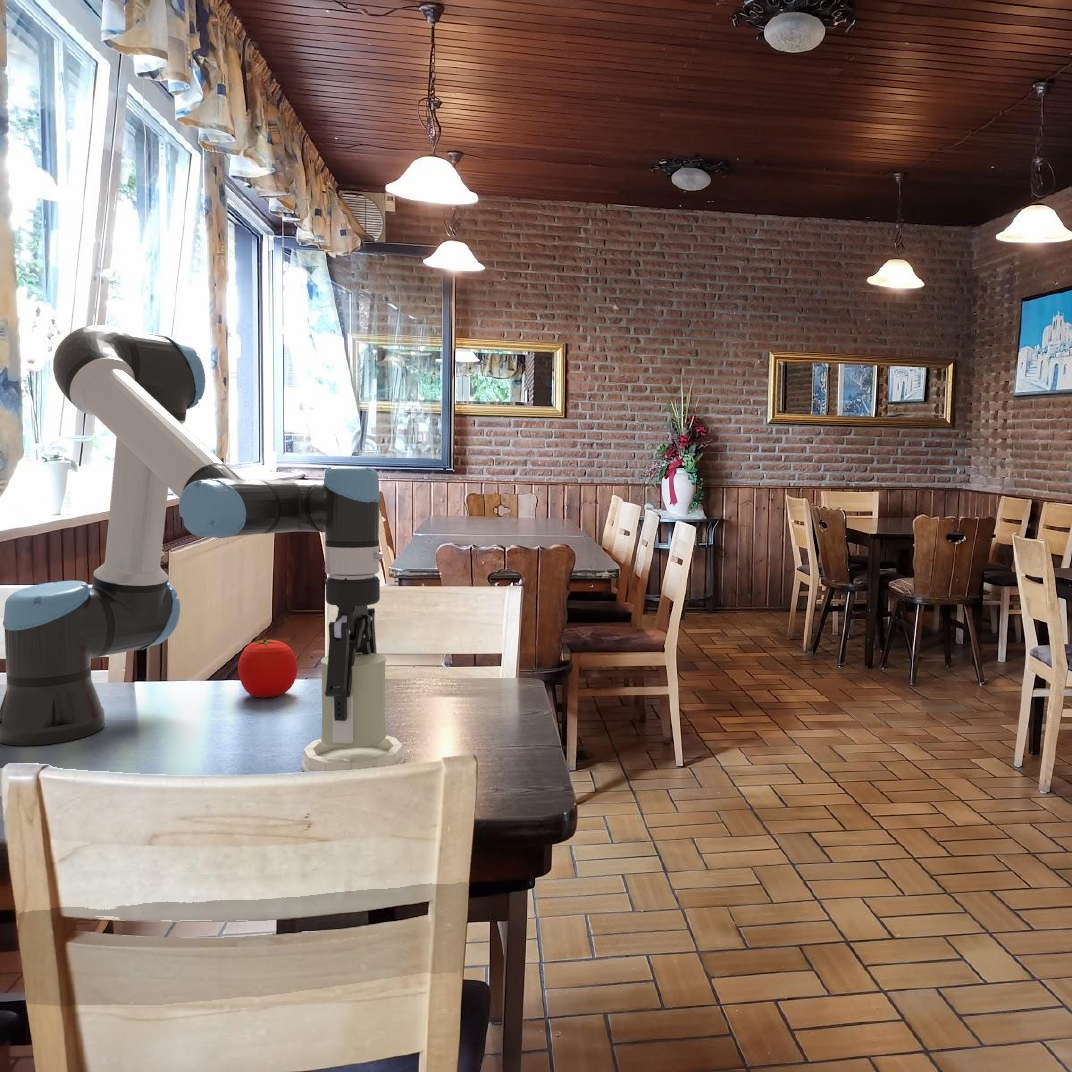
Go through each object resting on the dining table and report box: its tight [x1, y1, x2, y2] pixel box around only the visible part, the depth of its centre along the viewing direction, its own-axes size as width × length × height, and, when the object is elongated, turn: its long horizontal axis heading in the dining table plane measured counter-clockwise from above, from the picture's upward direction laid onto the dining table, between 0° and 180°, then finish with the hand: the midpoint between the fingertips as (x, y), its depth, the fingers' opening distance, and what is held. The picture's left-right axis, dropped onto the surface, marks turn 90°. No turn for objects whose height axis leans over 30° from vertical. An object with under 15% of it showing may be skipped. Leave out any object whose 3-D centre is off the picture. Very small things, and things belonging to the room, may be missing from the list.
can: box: [320, 653, 387, 748], centre depth 120 cm, size 9×9×12 cm
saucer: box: [301, 734, 405, 771], centre depth 121 cm, size 14×14×2 cm
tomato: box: [237, 638, 298, 698], centre depth 155 cm, size 10×11×11 cm
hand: (353, 731), depth 120 cm, fingers closed on can, 9 cm apart
